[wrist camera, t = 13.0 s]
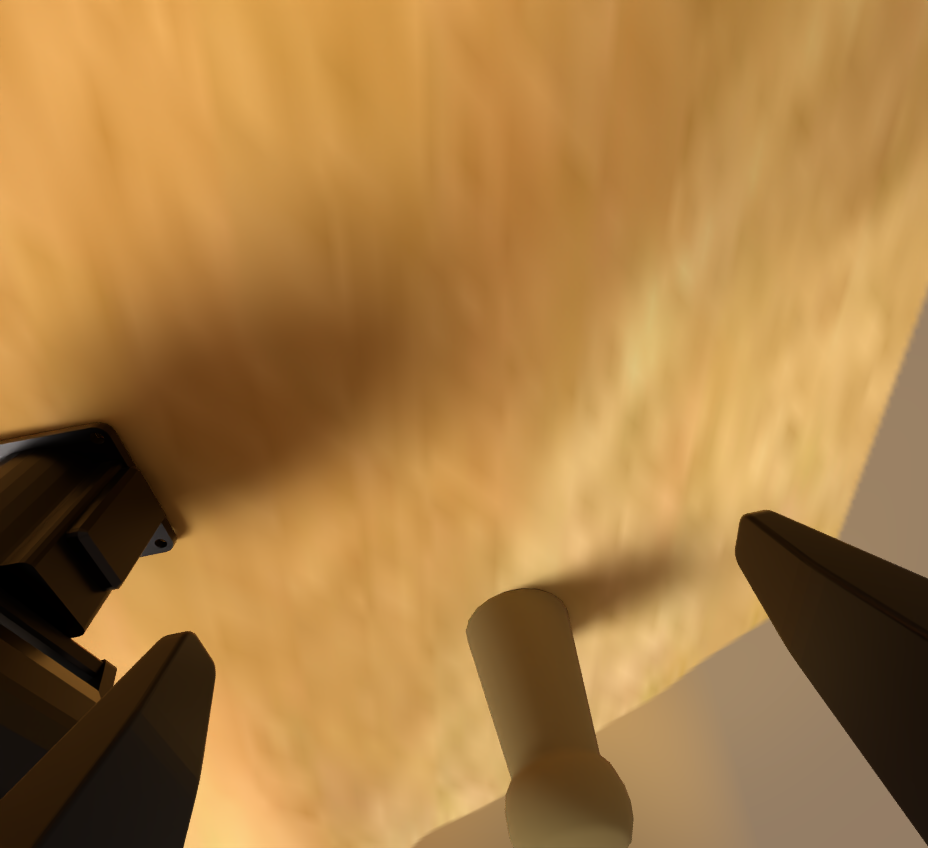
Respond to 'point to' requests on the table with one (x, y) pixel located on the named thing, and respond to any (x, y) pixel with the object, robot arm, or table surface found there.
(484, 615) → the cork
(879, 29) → the table surface
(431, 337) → the table surface
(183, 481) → the table surface
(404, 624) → the table surface
